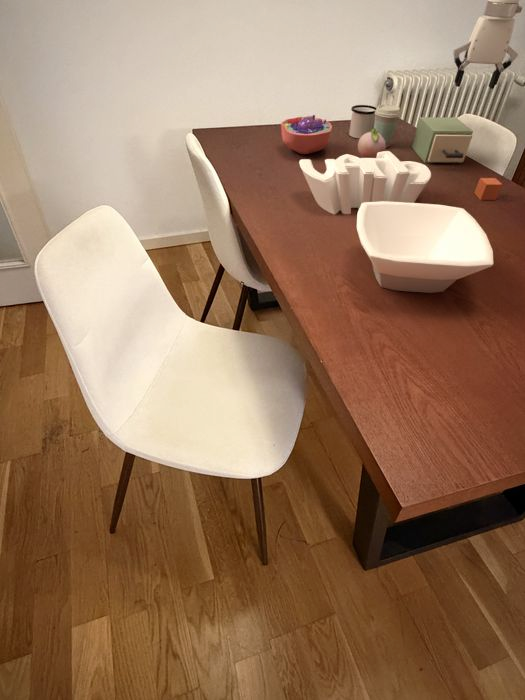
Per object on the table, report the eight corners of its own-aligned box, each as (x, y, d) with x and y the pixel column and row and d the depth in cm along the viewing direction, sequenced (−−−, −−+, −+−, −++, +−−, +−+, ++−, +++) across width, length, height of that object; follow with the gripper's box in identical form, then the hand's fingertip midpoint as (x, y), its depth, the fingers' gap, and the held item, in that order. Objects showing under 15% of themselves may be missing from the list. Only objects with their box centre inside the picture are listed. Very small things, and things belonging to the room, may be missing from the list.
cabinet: (462, 162, 132) (473, 131, 125) (424, 162, 132) (433, 130, 125) (446, 147, 142) (456, 117, 136) (411, 147, 142) (419, 117, 135)
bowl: (346, 240, 96) (353, 198, 88) (454, 247, 94) (470, 205, 87) (350, 303, 78) (360, 257, 71) (483, 313, 77) (506, 267, 69)
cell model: (329, 142, 144) (333, 107, 136) (328, 163, 130) (332, 124, 122) (282, 140, 146) (284, 104, 138) (276, 160, 132) (277, 121, 124)
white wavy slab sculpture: (300, 214, 105) (304, 173, 97) (295, 188, 116) (298, 149, 109) (433, 215, 105) (446, 174, 98) (415, 188, 117) (426, 150, 110)
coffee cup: (378, 139, 147) (386, 102, 139) (397, 146, 143) (406, 108, 134) (363, 144, 143) (370, 106, 135) (382, 151, 139) (390, 112, 130)
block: (489, 193, 115) (495, 177, 112) (495, 200, 112) (502, 184, 109) (474, 193, 115) (480, 177, 112) (480, 200, 112) (486, 184, 109)
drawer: (469, 167, 127) (478, 141, 121) (433, 167, 127) (441, 141, 121) (448, 147, 140) (456, 122, 134) (416, 147, 140) (423, 122, 134)
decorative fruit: (352, 156, 135) (358, 124, 128) (376, 156, 135) (383, 124, 128) (358, 167, 128) (364, 133, 121) (383, 167, 128) (391, 133, 121)
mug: (371, 140, 147) (377, 113, 140) (346, 138, 148) (350, 110, 142) (373, 130, 155) (378, 104, 148) (349, 128, 156) (353, 102, 150)
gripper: (528, 11, 108) (500, 85, 120) (463, 8, 110) (441, 82, 122) (538, 14, 103) (508, 91, 115) (469, 11, 104) (446, 88, 116)
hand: (473, 86), depth 118 cm, fingers open, 9 cm apart
